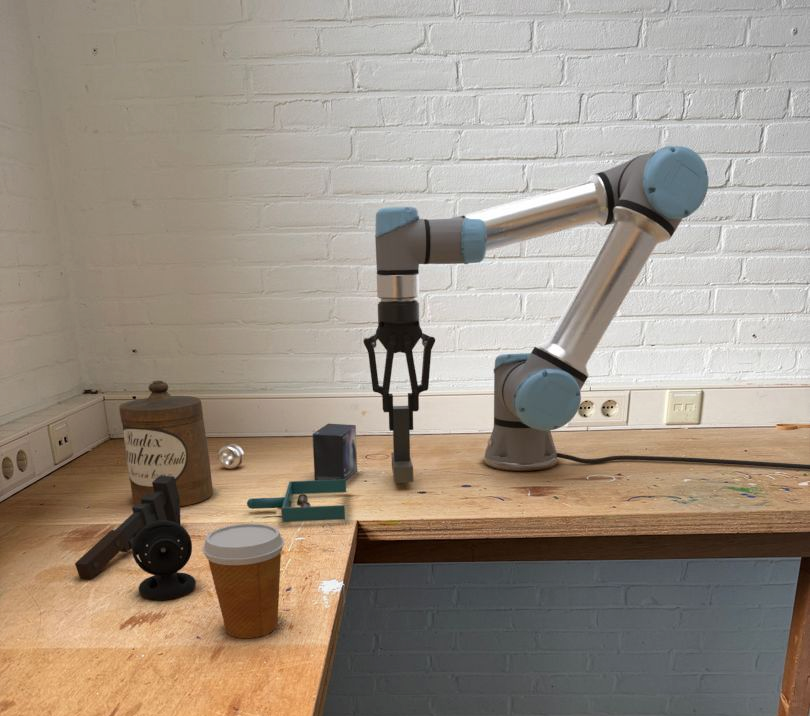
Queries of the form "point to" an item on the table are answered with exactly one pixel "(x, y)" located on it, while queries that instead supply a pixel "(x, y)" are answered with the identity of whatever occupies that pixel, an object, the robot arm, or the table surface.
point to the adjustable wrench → (133, 526)
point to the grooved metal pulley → (226, 456)
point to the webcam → (163, 559)
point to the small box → (335, 452)
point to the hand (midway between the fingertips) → (401, 428)
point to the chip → (302, 499)
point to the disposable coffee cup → (246, 576)
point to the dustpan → (305, 512)
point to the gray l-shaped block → (401, 446)
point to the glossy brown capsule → (305, 504)
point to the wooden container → (166, 444)
